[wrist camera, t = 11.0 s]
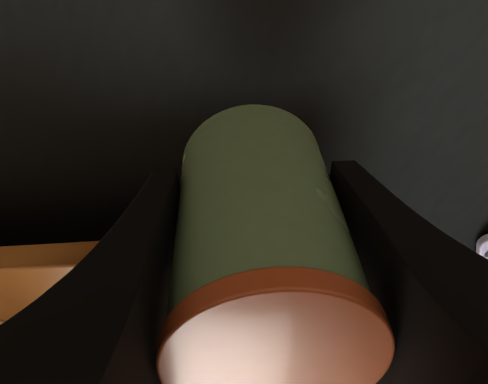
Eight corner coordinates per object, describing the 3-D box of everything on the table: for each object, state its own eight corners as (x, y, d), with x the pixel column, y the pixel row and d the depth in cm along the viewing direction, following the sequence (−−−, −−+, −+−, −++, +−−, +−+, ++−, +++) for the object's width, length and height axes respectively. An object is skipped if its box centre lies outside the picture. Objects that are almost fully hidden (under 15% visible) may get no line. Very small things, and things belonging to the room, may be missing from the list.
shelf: (316, 181, 18) (348, 276, 14) (303, 314, 24) (323, 410, 19) (-101, 203, 18) (-196, 309, 13) (-15, 334, 23) (-64, 438, 19)
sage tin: (333, 200, 14) (403, 400, 9) (207, 233, 15) (203, 438, 9) (307, 80, 11) (385, 261, 6) (155, 124, 12) (111, 325, 7)
